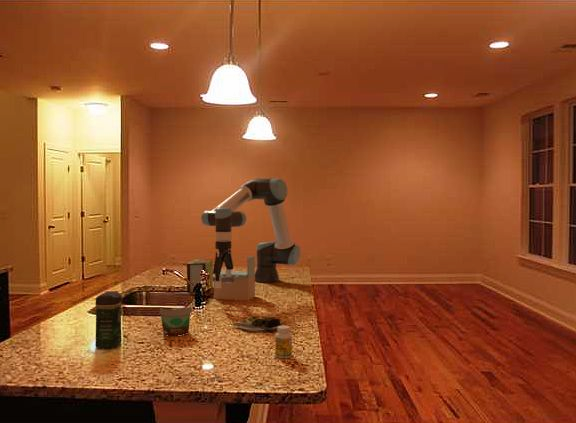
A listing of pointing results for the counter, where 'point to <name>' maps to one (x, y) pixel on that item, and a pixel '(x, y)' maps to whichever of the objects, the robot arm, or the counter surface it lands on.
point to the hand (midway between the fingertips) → (223, 285)
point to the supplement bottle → (283, 342)
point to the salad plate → (260, 324)
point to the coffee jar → (108, 320)
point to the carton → (239, 285)
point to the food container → (175, 321)
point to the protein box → (198, 272)
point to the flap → (232, 276)
